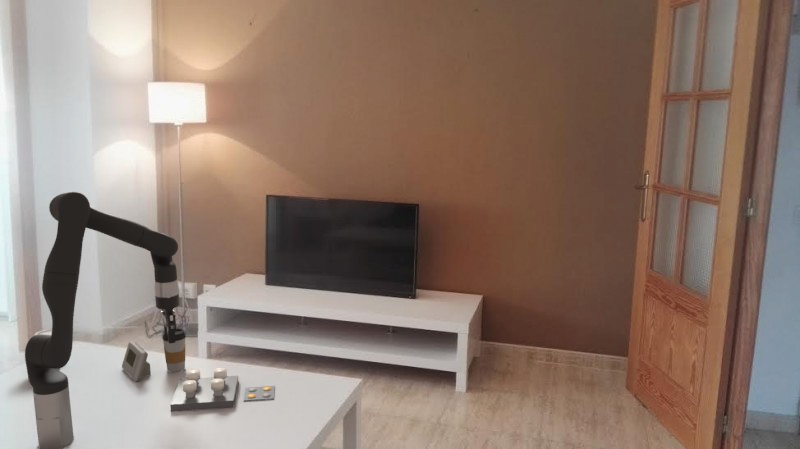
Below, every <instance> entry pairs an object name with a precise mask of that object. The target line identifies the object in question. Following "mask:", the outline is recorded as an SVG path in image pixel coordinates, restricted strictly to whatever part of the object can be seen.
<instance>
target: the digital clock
mask: <svg viewBox="0 0 800 449" xmlns="http://www.w3.org/2000/svg"><path fill="white" fill-rule="evenodd" d="M148 356H149V353H148V352H147V351H146V350H145V349H144V348H143V347H141V345H140V344H138V342H136V341H134V340H130V341H129V342H128V344H127V348H126V352H125V354H124V358H123V360H122V364H121V368H122V369H123V371H124V372H125V373H127V375H128V376H129V377H130V378H131V379H132V380H133V381H135V382H139V381H140V380H141V379H142V378H144V377H148V376H151V374H152V373H151V372H152V371H151V370H152V369H151V365H150V363H149V362H148V361H147V359H148Z"/></svg>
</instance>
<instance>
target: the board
mask: <svg viewBox="0 0 800 449" xmlns="http://www.w3.org/2000/svg"><path fill="white" fill-rule="evenodd" d="M213 379H214V376H211V377H210V376H207V377H200V379H199V380H198V386H197V390H196V391H194V393H195V397H194V398H186V392H184V391H183V382H185V381H188V380H187V378H180V379H179V382H178V384H177V387H176V390H175V391H174V394H173V397H172V399H171V402H170V404H169V405H170V406H169V407H170V412H188V411H201V410H202V411H203V410H204V411H205V410H216V409H229V408H231V409H232V408H235V403H236V397H237V392H238V391H237V390H238V386H239V375H227V377H226V378H224V379H225V384H224V389H222V396H214V391H213V390H211V381H212V380H213Z"/></svg>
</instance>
